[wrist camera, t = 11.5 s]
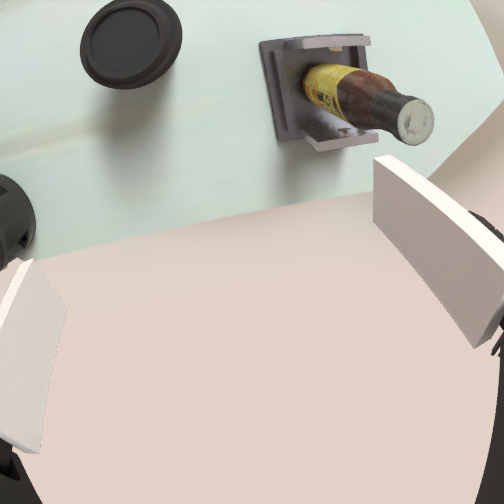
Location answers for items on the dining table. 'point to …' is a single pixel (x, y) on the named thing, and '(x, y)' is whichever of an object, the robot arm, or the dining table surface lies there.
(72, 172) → the dining table surface
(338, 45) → the clip holder
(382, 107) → the sauce bottle
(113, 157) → the dining table surface
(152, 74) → the coffee cup
